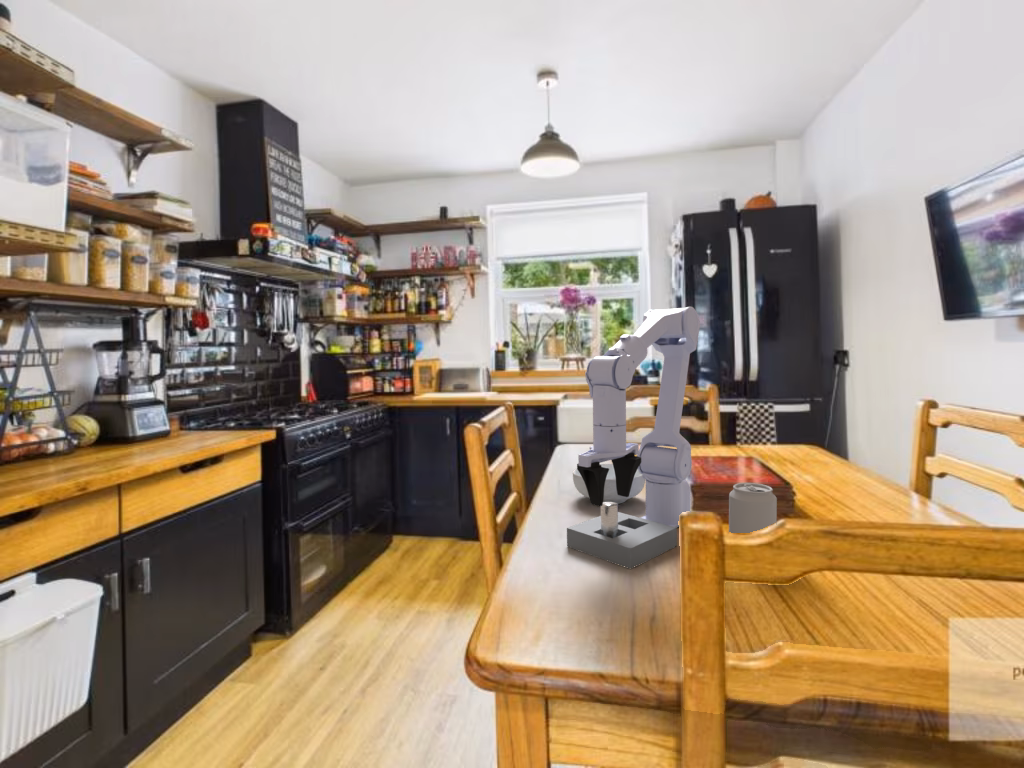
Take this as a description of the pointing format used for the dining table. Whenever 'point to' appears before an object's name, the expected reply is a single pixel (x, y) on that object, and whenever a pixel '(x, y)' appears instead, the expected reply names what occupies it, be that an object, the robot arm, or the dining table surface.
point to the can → (751, 507)
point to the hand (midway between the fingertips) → (610, 500)
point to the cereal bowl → (610, 485)
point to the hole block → (623, 540)
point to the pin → (609, 519)
